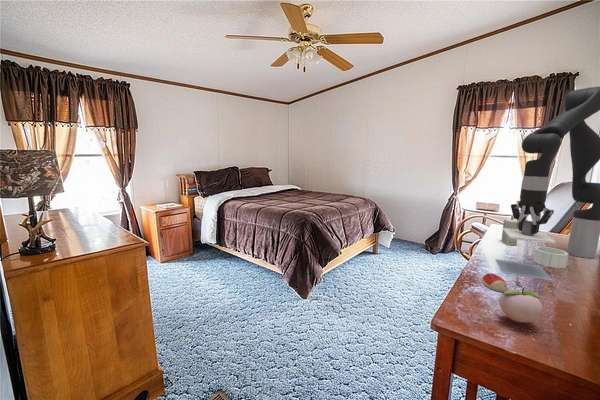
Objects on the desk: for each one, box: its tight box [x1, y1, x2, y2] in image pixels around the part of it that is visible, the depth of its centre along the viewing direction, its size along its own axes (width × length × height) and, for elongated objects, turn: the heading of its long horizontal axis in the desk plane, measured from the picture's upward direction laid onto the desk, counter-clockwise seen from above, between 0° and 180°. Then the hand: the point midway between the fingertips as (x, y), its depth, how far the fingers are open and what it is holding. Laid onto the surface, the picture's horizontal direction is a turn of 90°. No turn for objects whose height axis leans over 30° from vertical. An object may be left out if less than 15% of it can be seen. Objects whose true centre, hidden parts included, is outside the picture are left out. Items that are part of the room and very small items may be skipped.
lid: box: [502, 220, 557, 245], centre depth 104 cm, size 13×13×6 cm
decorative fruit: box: [498, 287, 544, 323], centre depth 72 cm, size 9×8×10 cm
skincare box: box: [500, 218, 519, 247], centre depth 138 cm, size 6×4×12 cm
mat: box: [494, 258, 554, 282], centre depth 107 cm, size 15×15×1 cm
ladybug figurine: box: [481, 272, 509, 293], centre depth 94 cm, size 7×10×4 cm
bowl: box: [532, 246, 570, 269], centre depth 112 cm, size 10×10×6 cm
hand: (527, 232), depth 104 cm, fingers closed on lid, 3 cm apart
